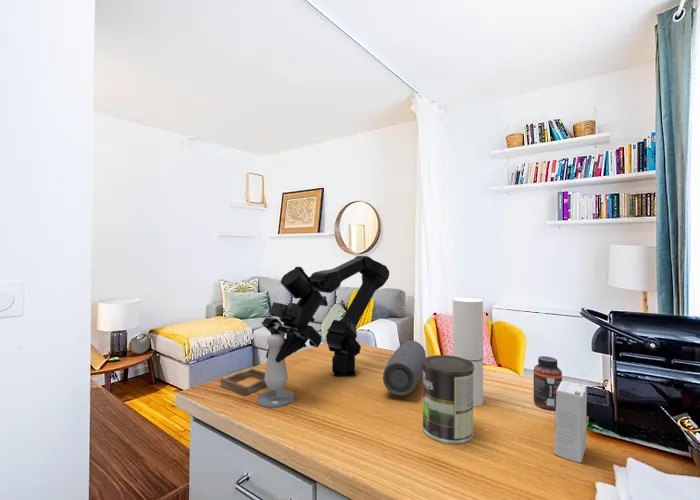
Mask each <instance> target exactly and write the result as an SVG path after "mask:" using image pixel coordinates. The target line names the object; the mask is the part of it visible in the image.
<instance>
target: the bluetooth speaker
mask: <svg viewBox="0 0 700 500" xmlns="http://www.w3.org/2000/svg"><path fill="white" fill-rule="evenodd" d="M426 355H427V354H426V351H425V348H424V346H423V345H422V344H421V343H420V342H418V341H416V340H407V341H405V342H403V343H402V344H401V345H400V346H399V347H398V348H397V349H396V350H395V351H394V352H393V354H391V356H390V358H389V360H388V362H387V364H386V366H385V368H384V369H383V375H382V380H383V384H384V386H385V388H386V389H387V391H389V393H391V394H392V395H395V396H401V397H402V396H407V395H409V394H411V393H412V391H413V390H414V389H415V388H416V386H417V385H418V382H419V380H420V379H421V376H422V375H423V364H422V361H423V359H424V358H426V357H427V356H426Z"/></svg>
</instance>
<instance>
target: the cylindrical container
mask: <svg viewBox="0 0 700 500" xmlns="http://www.w3.org/2000/svg"><path fill="white" fill-rule="evenodd" d="M452 356H455V357H460V358H463V359H466V360H468V361H470V362H472V363H473V364H474V370H473V407H479V406H481V405H483V404H484V300H483V299H480V298H474V297H455V298H452Z"/></svg>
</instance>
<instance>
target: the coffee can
mask: <svg viewBox="0 0 700 500" xmlns="http://www.w3.org/2000/svg"><path fill="white" fill-rule="evenodd" d="M422 364H423V371H422V430H423V432H424V433H425V435H426V436H428V437H429V438H431V439H433V440H435V441H437V442H439V443H444V444H449V445H451V444H452V445H459V444H465V443H467V442H469V441H471V440H472V439H473V438H474V406H473V370H474V364H473V363H472V362H470V361H468V360H466V359H463V358H460V357H455V356H453V355H446V354H439V355H437V354H436V355H430V356H426V358H424V359H423V361H422Z"/></svg>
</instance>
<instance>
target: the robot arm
mask: <svg viewBox="0 0 700 500" xmlns="http://www.w3.org/2000/svg"><path fill="white" fill-rule="evenodd" d="M358 273H359V274H361V281H362V282H361V283H362V284H361V285H360V287H359V288H358V290H357V291H356V294H355V295H354V296H353V299H352V300H351V303H350V304H349V306H348V307H347V310H346V312H345V314H344V315H343V317H342V318H340V320H338V319H333V321H332V322H331V323H330V327H329V328H328V329H327V333H326V336H325V338H326V343H327V344H326V345H327V347H328V349H329V350H328V351H330V352H333V354H334V355H332V356H331V358H332V361H331V363H332V365H331V366H332V367H331V368H332V369H331V371H332V373H333V376H334V377H343V376H345V377H346V376H351V377H352V376H357V375H356V374H357V373H356V357H357V356H358V355H359V354H360V353H361V349H362V348H361V347H362V346H361V344H360V343H359V342H358V341H357V339H356V338H357V337H358V332H357V331H358V330H357V326H358V324H359V323H360V320H361V319H362V317H363V315H364V313H365V311H366V309H367V307H368V305H369V303H370V302H371V299H372V298H373V296H374V294H375V292H376V291H377V290H379V289H381V288H382V287H383V286H384V285H385V284H386V283H387V281H388V279H389V277H390V271H389V268H388V267H387V265H385V264H383V263H381V262H379V261H376V260H374V259H373V258H372V257H371V256H368V255H357V256H355V257H354V258H352V259H350V260H348V261H346V262H344V263H342V264H340V265H338V266H336V267H334V268H330V269H325V270H323V269H322V270H319V271H314V272H313V273H312V274H311V275H310V276H308V274H307V273H306V271H304V269H303V267H302V266H295V267H294V269H291V270H289V271H288V272H287V273H285V274H284V275H283V276H282V277H281V279H280V285H282V286H283V288H284V289H285V290H286V291H287V292H288V293H289V294H290V295H291V296H292V298H294V299H297V300H298V301H297V302H296V303H294V302H288V304H284V303H280V302H272V305H271V308H270V310H269V315H271V316H276V317H278V318H276V317H271V316H270V317H269V316H267V317H265V318H264V319H263V321H262V322H261V325H262V326H263V328H265V329H266V330H267V331H268V332H269V333H270V335H273V334H280V335H283V336H284V339H285V341H284V344H283V345H282V348H281V350H280V351H279V353H278V355H277V357H276V359H275V361H276V362H278V363H279V362H280V361H282V360H283V359H286V358H288V357H289V356H291V355H292V354H294V353H296V352H298V351H299V350H301V349H303V348H306V347H307V344H306V343H307V342H308V343H309V346H310V347H313V348H319V346H320V345H321V343H322V335H321V334H320V333H319V332H318V330H316V329H315V328H314V326H312V325H309V324H310V323H314V322H315V320H316V319H315V318H314V316H315V314H316V313H317V311H318V310H319V308H320V306H321V307H328V301H327V296H325V295H322V294H321V293H326V294H331V293H334V292H335V291H336V290H338V288H339V287H340V286H341V284H342V282H343V281H345V280H347V279H349V278H350V277H353V276H354V275H356V274H358ZM285 336H286V337H285ZM269 347H270V346H269V345H268V348H267V351H266V355H265V358H266V359H268V353H269Z"/></svg>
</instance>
